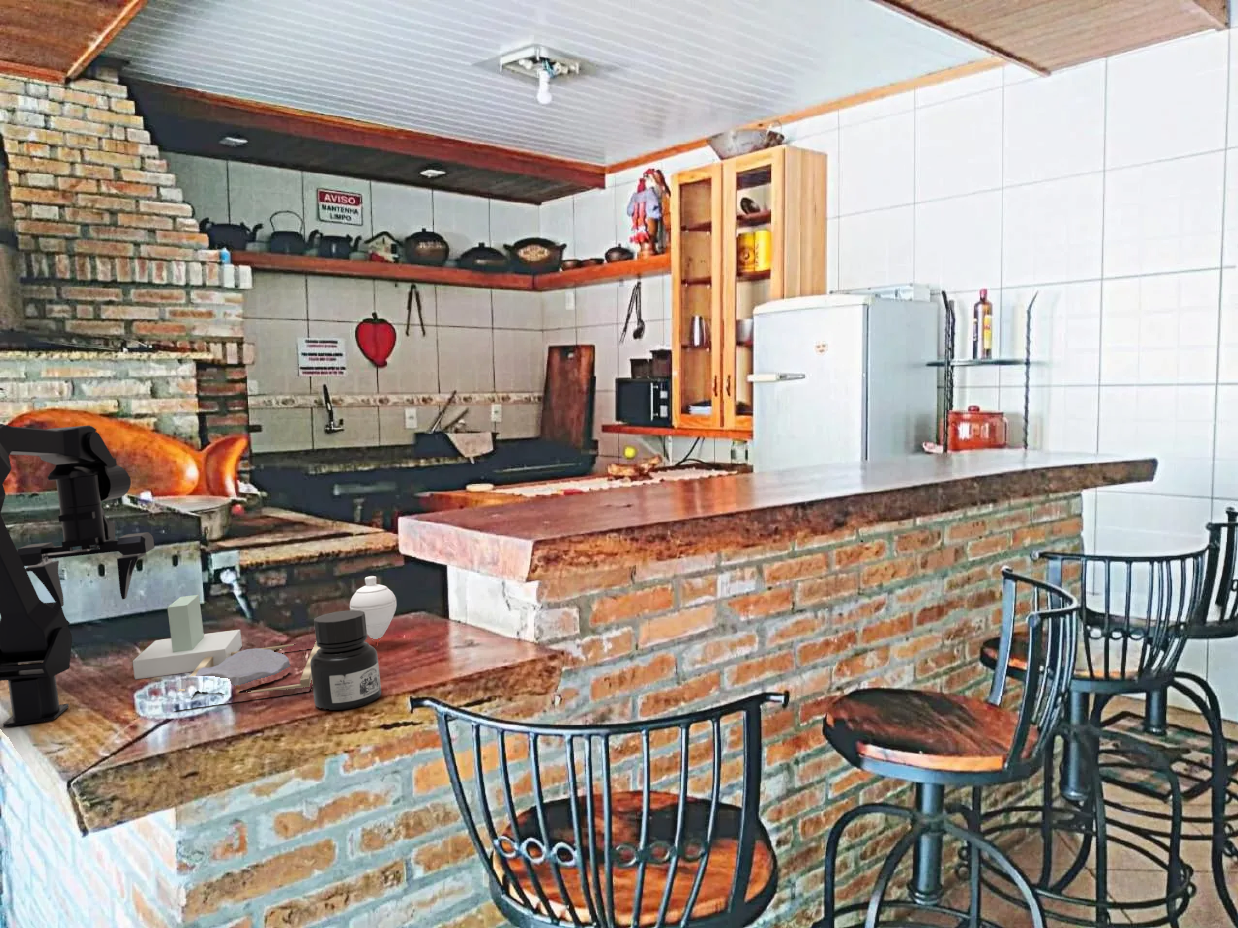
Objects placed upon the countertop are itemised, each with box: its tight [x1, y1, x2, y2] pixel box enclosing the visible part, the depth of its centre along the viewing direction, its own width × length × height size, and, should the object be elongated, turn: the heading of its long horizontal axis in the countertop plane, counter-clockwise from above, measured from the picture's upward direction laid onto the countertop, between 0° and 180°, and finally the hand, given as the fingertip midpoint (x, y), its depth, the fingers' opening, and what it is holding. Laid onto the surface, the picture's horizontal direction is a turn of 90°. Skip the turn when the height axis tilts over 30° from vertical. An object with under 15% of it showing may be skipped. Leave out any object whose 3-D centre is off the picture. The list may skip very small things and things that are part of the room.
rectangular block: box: [167, 594, 205, 652], centre depth 159 cm, size 9×3×8 cm, turn 12°
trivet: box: [132, 629, 243, 680], centre depth 159 cm, size 14×14×3 cm
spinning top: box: [349, 575, 397, 640], centre depth 159 cm, size 8×8×12 cm
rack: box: [177, 642, 320, 693], centre depth 147 cm, size 27×18×2 cm
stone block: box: [196, 647, 291, 686], centre depth 144 cm, size 12×5×10 cm
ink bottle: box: [310, 609, 382, 711], centre depth 130 cm, size 10×9×12 cm
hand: (92, 602), depth 150 cm, fingers open, 9 cm apart
